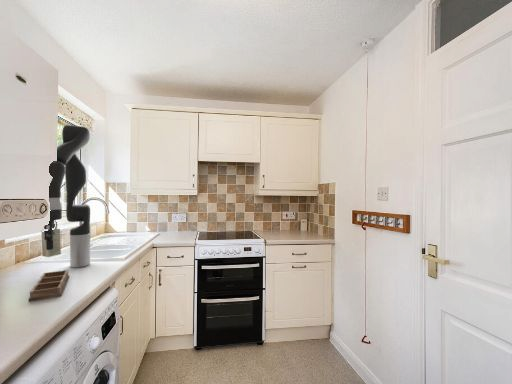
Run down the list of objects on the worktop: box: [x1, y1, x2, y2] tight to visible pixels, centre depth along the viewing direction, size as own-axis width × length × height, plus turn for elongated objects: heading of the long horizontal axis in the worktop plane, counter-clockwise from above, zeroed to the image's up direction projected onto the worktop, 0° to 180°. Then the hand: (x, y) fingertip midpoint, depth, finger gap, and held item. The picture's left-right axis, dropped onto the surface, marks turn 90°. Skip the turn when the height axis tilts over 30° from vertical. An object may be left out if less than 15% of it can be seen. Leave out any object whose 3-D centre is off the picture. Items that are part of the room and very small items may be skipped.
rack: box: [28, 269, 70, 302], centre depth 113 cm, size 26×10×4 cm, turn 29°
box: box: [41, 228, 62, 258], centre depth 113 cm, size 5×4×11 cm
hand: (51, 247), depth 113 cm, fingers closed on box, 6 cm apart
